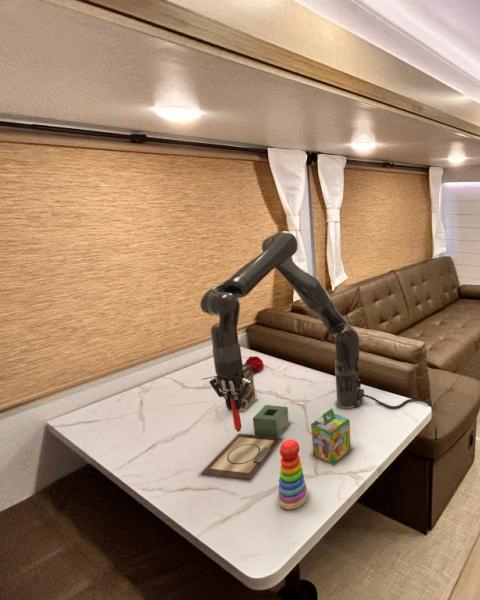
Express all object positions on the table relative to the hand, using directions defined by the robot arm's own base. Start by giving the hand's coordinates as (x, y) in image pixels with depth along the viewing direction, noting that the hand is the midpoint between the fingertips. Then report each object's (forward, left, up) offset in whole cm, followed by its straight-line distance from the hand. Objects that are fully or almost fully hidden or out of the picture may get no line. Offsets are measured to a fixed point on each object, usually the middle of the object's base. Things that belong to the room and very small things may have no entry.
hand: (235, 408), depth 116 cm
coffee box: (+18, -31, -18) cm, 40 cm away
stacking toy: (-24, +13, -18) cm, 33 cm away
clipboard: (0, -2, -18) cm, 18 cm away
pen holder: (-2, -17, -18) cm, 25 cm away
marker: (0, 0, -8) cm, 8 cm away
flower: (+35, -52, -18) cm, 66 cm away
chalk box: (-28, -8, -18) cm, 34 cm away
